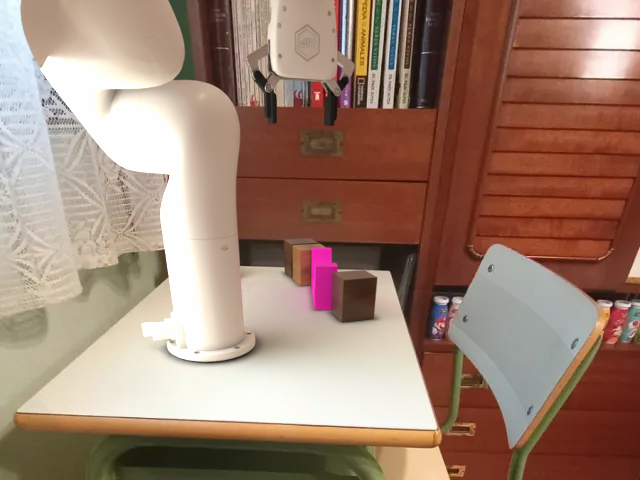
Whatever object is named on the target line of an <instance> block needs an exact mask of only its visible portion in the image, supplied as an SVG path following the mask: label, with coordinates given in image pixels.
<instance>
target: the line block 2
mask: <svg viewBox="0 0 640 480" xmlns="http://www.w3.org/2000/svg"><path fill="white" fill-rule="evenodd" d="M377 285H378V276H375V275H374V274H372V273H370V272H369V271H367V270H366V269H358V270H344V271H343V270H342V271H337V272H332V295H331V310H330V313H331V315H333V316H334V317H335V318H336V319H337V320H338V321H340V323H347V322H357V321H366V320H375V310H376V309H375V308H376V301H377V300H376V299H377V298H376V297H377Z"/></svg>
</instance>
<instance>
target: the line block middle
mask: <svg viewBox="0 0 640 480" xmlns="http://www.w3.org/2000/svg"><path fill="white" fill-rule="evenodd" d="M312 247H318V248H327V247H326V246H325V245H323V244H321V243H318V244H306V245H293V278H292V281H293V282H294V283H296V284H297V285H298V286H299V287H307V286H311V268H312Z"/></svg>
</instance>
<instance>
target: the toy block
mask: <svg viewBox="0 0 640 480" xmlns="http://www.w3.org/2000/svg"><path fill="white" fill-rule="evenodd" d="M332 254H333V249H332V247H326V248H318V247H312V268H311V285H310V286H311V287H310V288H311V293H312V301H313V306H314V308H313V309H314V310H315V311H331V295H332V272H339V271H338V268H339V267H338V266H339V265H338V264H337V262H333V261H332V258H333V257H332V256H333V255H332Z"/></svg>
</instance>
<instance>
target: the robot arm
mask: <svg viewBox="0 0 640 480" xmlns="http://www.w3.org/2000/svg"><path fill="white" fill-rule="evenodd" d="M335 7H336V6H335V0H270V2H269V8H268V9H269V11H268V21H267V42H266V43H264V44H263V45H261V46H260V47H258V48H257V49H255V50H253V51H252V52H250V53H249V54H247V55H245V56H244V62H245V64H246V67H247V70H248V71H249V73H250V75H251V79H252V80H253V81H254V83H255V84H256V85H257V86H258V88H259V89H260V91H261V92H262V94H263V114H264V115H263V116H264V118H266V119H267V124H268V125H276V124H277V123H278V112H277V111H278V110H277V109H278V108H277V106H278V105H277V104H278V102H277V101H278V100H277V94H276V92H275V87H276V86H277V85H278V83H279V82H280V80H282V81H283V80H284V81H297V82H312V83H314V82H316V83H318V82H319V83H320V84H321V85H322V87H323V89H324V90H325V92H326V96H325V97H324V100H323V102H324V103H323V104H324V105H323V106H324V108H323V125H324V126H325V127H334V126H335V121H336V120H337V119H338V99H339V97H340V96H341V94H342V92H343V91H344V89H346V88H347V86H348V85H349V83H350V79H351V77H352V75H353V73H354V70H355V68H356V65H355V63H354V62H353V61H352V60H351V59H349V58H348V57H347V56H346V55H344V54H343V53H342V52H341V51H340V50H338V33H337V32H338V31H337V17H336V9H335ZM19 9H20V10H19V11H20V21H21V26H22V31H23V34H24V38H25V40H26V44H27V45H28V47H29V50H30V52H31V55H32V57H33V59H34V61H35V62H36V64H37V66H38V69H40V70H41V73H42V74H43V75H44V76H45V78H46V80H47V81H48V82H49V83H50V85H51V87H53V89H54V91H56V93H57V94H58V95H59V97H60V98H61V99H62V100H63V102H64V103H65V104H66V106H67V107H68V108H69V109H70V110H71V112H72V113H73V114H74V115H75V117H76V118H77V120H78V121H79V122H80V124H81V125H82V126H83V127H84V128H85V130H86V131H87V132H88V134H89V135H90V136H91V137H92V138H93V140H94V141H95V143H96V144H97V145H98V146H99V147H100V148H101V149H102V151H104V153H105V154H106V155H107V156H108V157H109V158H110V159H111V160H112V161H113V162H114V163H116V164H117V165H118V166H120V167H122V168H123V169H126V170H129V171H133V172H138V173H139V172H140V173H145V174H146V173H147V174H148V173H149V174H161V175H168V177H169V178H168V181H167V184H166V186H165V187H166V188H165V190H164V193H163V196H162V200H161V205H160V226H161V232H162V239H163V245H164V253H165V259H166V265H167V266H166V267H167V272H168V273H167V274H168V279H169V287H170V295H171V300H172V301H171V302H172V308H173V311H171V312H170V317H169V318H164V321H157V322H155V321H149V322H141V330H142V334H143V337H144V338H147V337H152V340H153V341H163V340H166V346H167V350H168V352H169V353H171V354H172V355H173V356H175V357H177V358H180V359H182V360H185V361H191V362H192V361H193V362H201V363H202V362H205V363H208V362H209V363H210V362H222V361H227V360H232V359H235V358H239V357H241V356H243V355H246V354H248V353H249V352H250V351H251V350H253V349H254V347H255V345H256V335H255V333H254V332H253V330H251V329H249V328H248V327H245V324H244V323H245V321H244V320H245V319H244V306H243V290H242V276H241V275H242V274H241V259H240V244H239V231H238V213H237V173H238V163H239V155H240V146H241V145H240V144H241V125H240V120H239V115H238V112H237V109H236V107H235V105H234V103H233V102H232V100H231V99H230V97H229V96H228V95H227V94H226V93H225V92H224V91H223V90H221V89H220V88H219V87H217V86H215V85H214V84H211V83H207V82H204V81H200V80H193V79H175V78H176V77H177V76H178V75H179V74H180V72H181V71H182V68H183V65H184V62H185V56H186V50H185V41H184V37H183V36H184V35H183V33H182V30H181V27H180V24H179V22H178V19H177V17H176V14H175V12H174V10H173V7H172V5H171V3H170V0H20V6H19ZM265 57H266V67H267V68H266V69H267V73H268V75H267V76H266V77H265V76H264V74H263V73H262V71H260V67H259V65H258V63H259V61H260V60H262V59H263V58H265ZM338 67H340V68H341V70H342V71H341V74H340V77H339V78H338V79H337V80H336V79H335V77H336V76H337V72H338Z"/></svg>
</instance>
